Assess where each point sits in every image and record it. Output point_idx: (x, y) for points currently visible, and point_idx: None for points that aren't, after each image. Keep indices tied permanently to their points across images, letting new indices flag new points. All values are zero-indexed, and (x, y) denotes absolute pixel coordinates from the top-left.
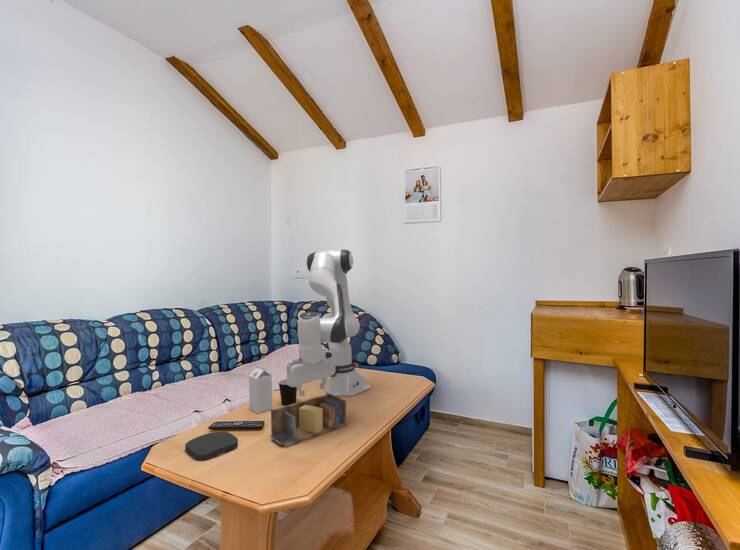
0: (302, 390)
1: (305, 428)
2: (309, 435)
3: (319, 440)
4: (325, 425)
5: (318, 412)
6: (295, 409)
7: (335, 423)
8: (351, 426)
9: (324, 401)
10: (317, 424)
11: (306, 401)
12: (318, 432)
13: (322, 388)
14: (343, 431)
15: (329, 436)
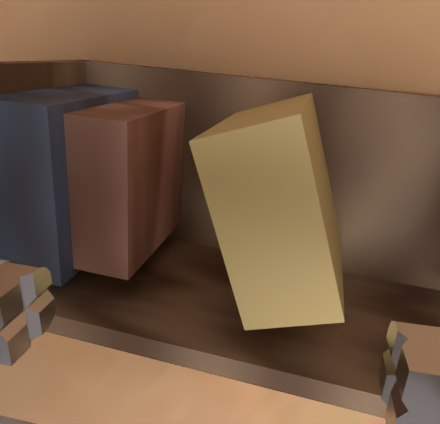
0: (408, 422)
1: (330, 192)
2: (368, 105)
3: (347, 16)
4: (187, 144)
5: (261, 120)
6: (340, 350)
7: (133, 97)
8: (62, 26)
9: (70, 272)
10: (291, 103)
11: (217, 352)
12: (292, 93)
13: (34, 271)
14: (142, 3)
15: (256, 14)
